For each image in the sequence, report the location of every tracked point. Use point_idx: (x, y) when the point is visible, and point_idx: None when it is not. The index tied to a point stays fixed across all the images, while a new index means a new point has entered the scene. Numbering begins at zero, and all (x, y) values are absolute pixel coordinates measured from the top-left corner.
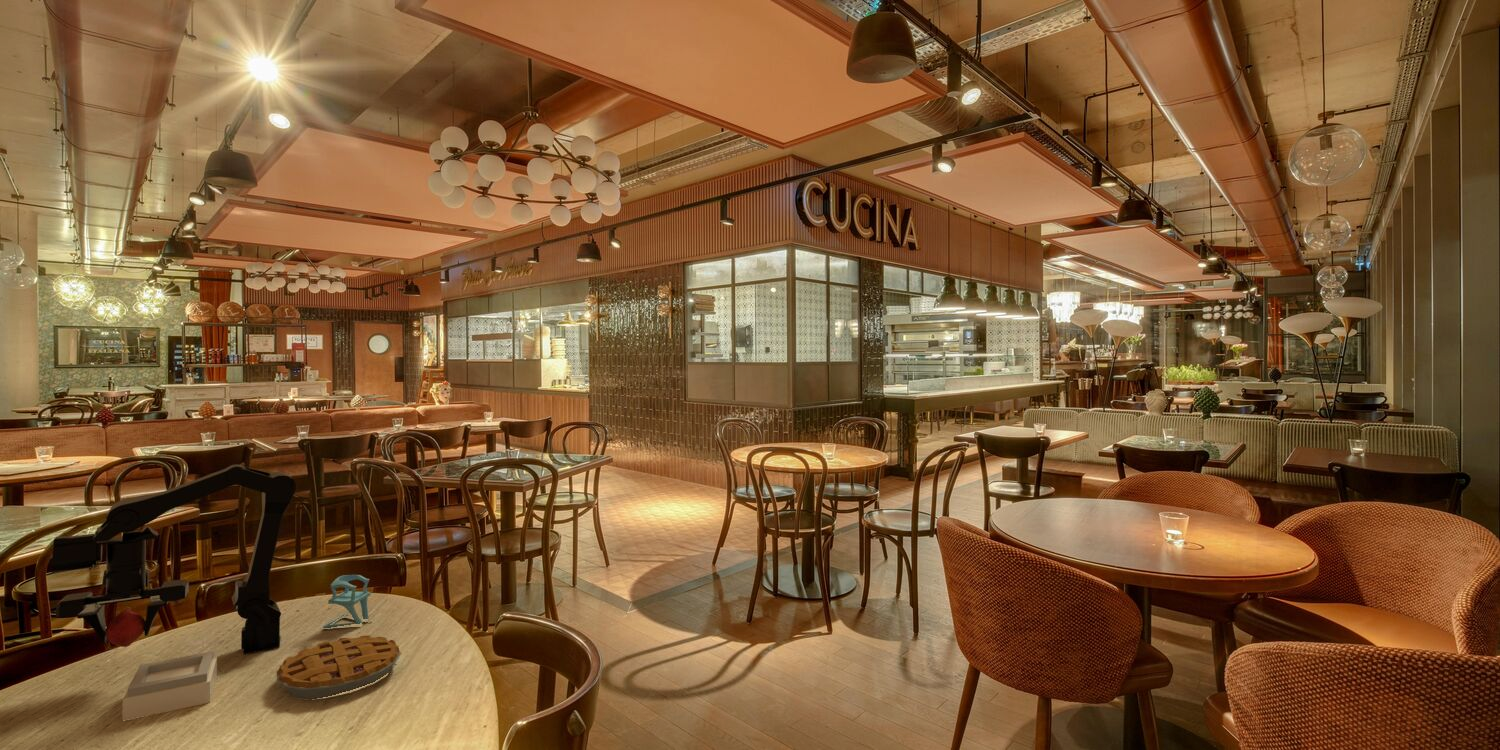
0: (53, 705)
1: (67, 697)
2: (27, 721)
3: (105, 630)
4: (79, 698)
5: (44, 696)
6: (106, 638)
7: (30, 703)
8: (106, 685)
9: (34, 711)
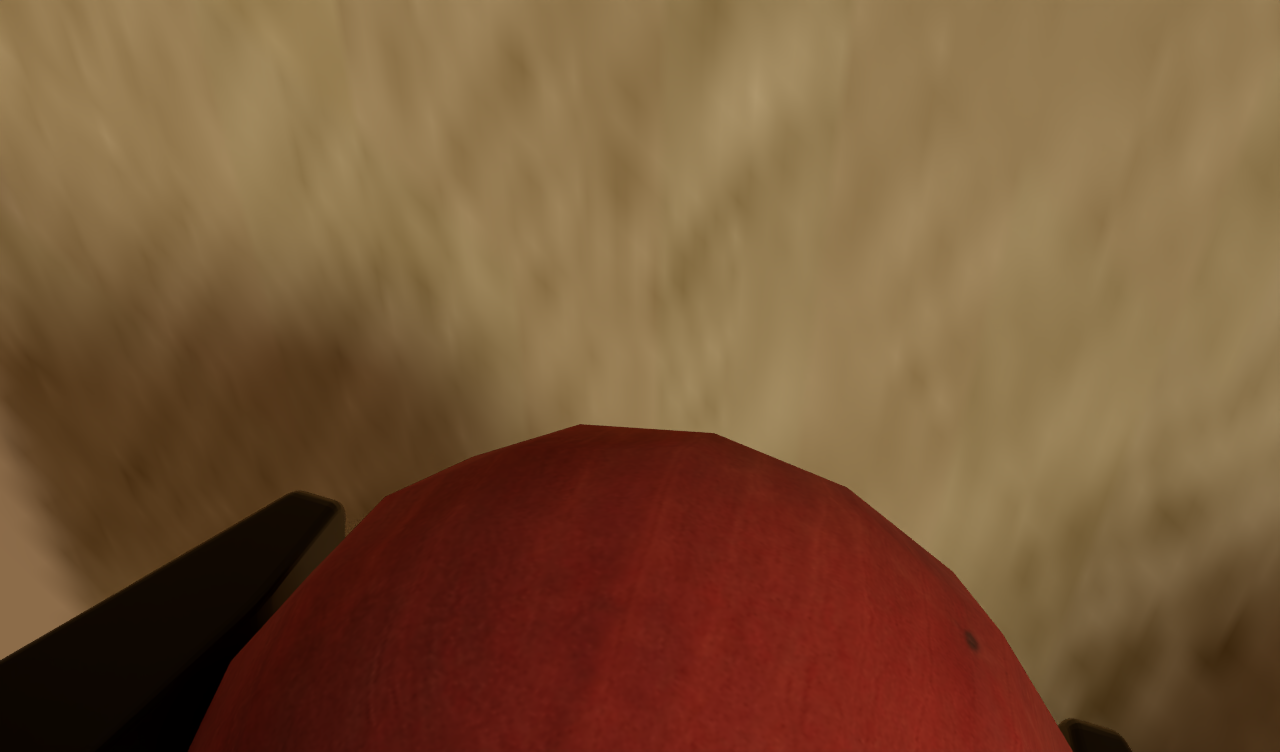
0: (226, 422)
1: (293, 325)
2: (139, 577)
3: (186, 745)
4: (401, 435)
5: (66, 114)
6: (319, 541)
7: (7, 213)
8: (604, 292)
9: (117, 432)
